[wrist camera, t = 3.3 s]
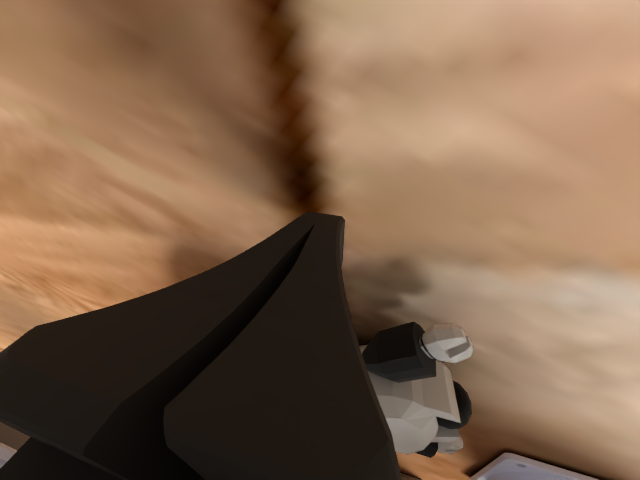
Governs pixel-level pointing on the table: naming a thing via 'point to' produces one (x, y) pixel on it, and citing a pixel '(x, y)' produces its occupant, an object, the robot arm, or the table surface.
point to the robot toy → (420, 385)
